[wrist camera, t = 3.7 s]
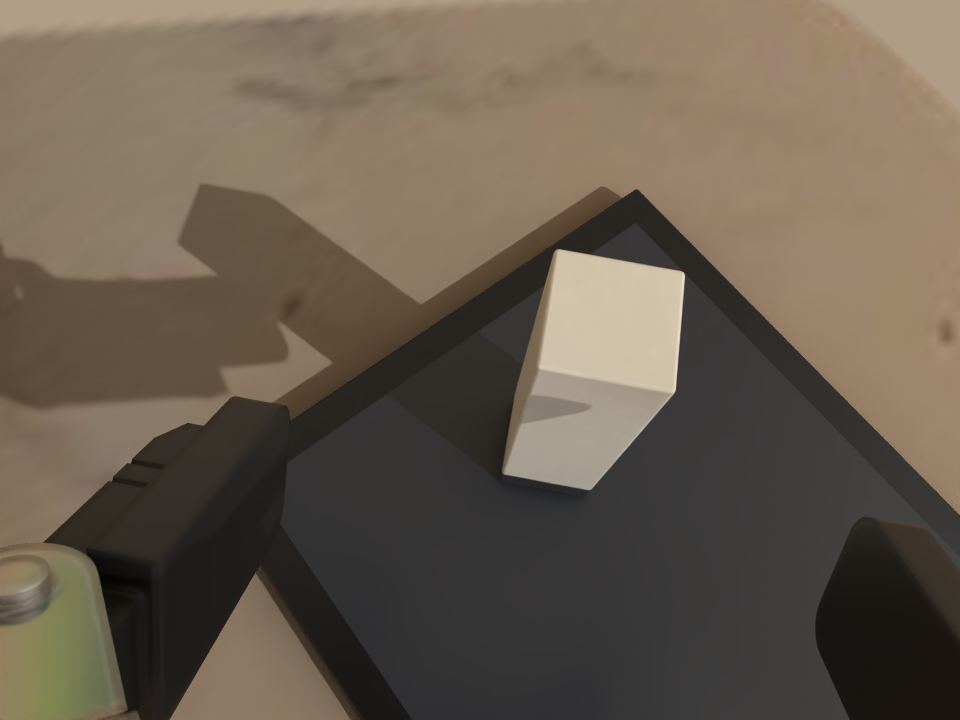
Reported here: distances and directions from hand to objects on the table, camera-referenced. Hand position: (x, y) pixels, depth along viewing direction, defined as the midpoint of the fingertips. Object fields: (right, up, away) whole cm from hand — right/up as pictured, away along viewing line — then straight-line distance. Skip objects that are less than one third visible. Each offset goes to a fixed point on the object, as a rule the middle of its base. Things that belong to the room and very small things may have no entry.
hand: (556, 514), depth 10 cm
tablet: (+4, -5, +9) cm, 12 cm away
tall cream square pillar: (+1, 0, +10) cm, 10 cm away
